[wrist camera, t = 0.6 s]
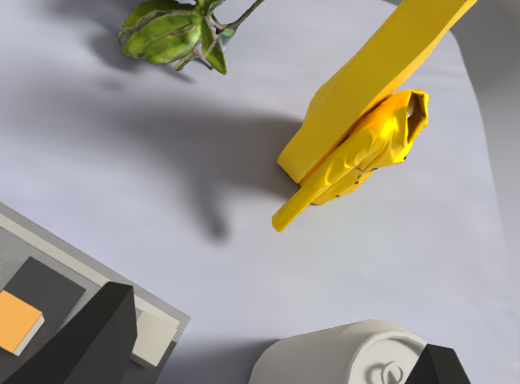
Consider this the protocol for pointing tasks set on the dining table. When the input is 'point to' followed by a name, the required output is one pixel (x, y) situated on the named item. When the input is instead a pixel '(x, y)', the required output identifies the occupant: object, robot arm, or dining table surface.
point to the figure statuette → (366, 109)
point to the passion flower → (177, 32)
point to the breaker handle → (17, 323)
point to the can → (342, 356)
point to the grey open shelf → (76, 296)
